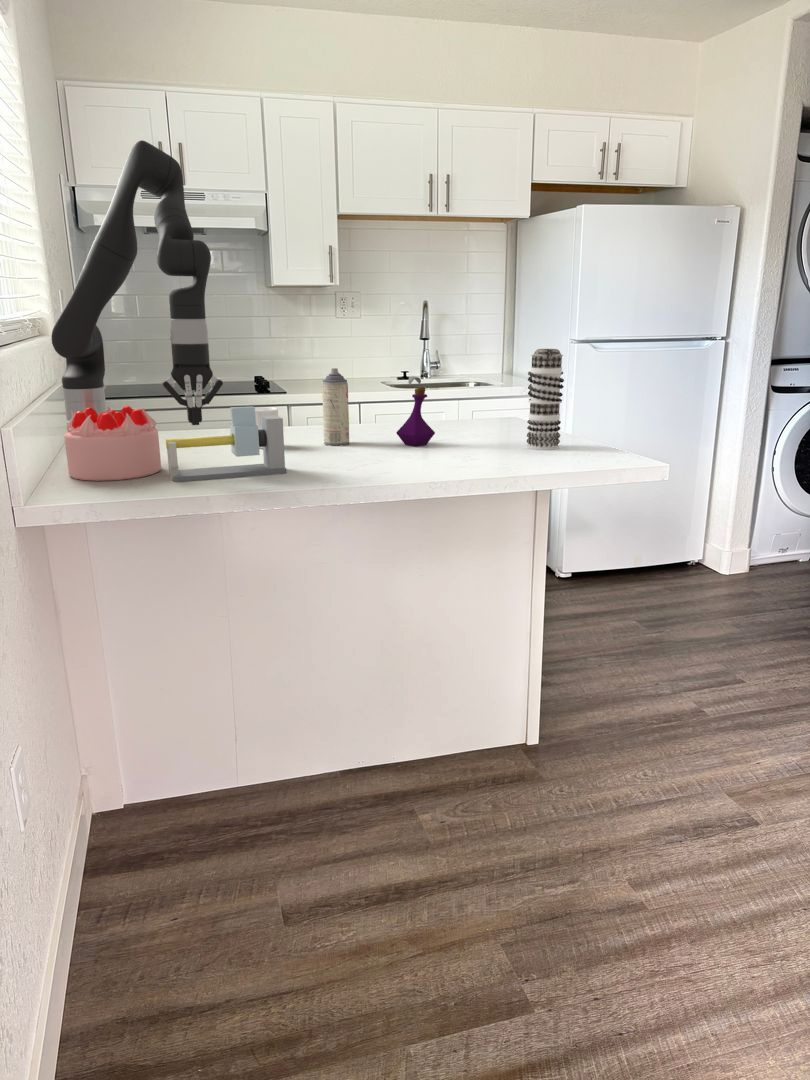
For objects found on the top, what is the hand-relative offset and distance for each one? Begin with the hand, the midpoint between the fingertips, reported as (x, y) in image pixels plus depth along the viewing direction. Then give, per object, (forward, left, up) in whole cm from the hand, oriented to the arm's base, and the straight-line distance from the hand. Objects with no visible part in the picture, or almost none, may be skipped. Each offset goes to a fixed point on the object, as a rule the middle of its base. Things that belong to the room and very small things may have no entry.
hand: (195, 424), depth 170 cm
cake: (-17, +12, -12) cm, 24 cm away
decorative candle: (+88, +3, -12) cm, 89 cm away
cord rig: (+6, 0, -11) cm, 13 cm away
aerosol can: (+40, +30, -12) cm, 52 cm away
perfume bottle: (+59, +20, -12) cm, 64 cm away
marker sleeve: (+10, 0, -7) cm, 13 cm away
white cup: (+21, +33, -12) cm, 41 cm away
